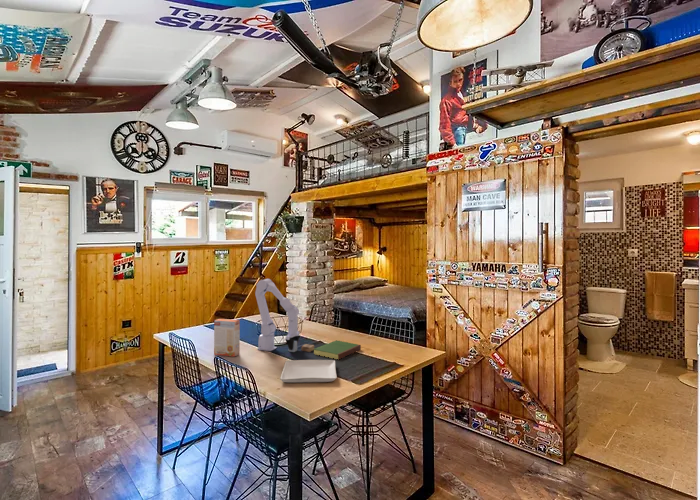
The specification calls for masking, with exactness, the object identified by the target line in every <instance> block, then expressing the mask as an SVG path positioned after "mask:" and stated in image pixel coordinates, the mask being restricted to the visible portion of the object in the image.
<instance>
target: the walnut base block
mask: <svg viewBox="0 0 700 500" xmlns="http://www.w3.org/2000/svg"><path fill="white" fill-rule="evenodd" d="M300 349H301V351H302V352H308V353H310V352H312V351H314V349H315V345H314V344H307V343H305V344H303V345H301V348H300Z"/></svg>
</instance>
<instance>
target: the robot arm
mask: <svg viewBox="0 0 700 500" xmlns="http://www.w3.org/2000/svg"><path fill="white" fill-rule="evenodd" d="M255 286H256V288H255V292H254V294H255V298H256V302H257V307H258V311H259V315H260V317H261V324H260V326H261V327H260V328H261V329H260V333H261V334H260V335H259V336H258V345H257V346H258V348H257V350H260V351H267V352H273V351H274V350H275V349H277V348H278V347H277V346H275V331H276V330H277V326H276V324H275V323H274V320H273V319H272V318H271V315H270V311H269V308H268V304H267V299H266V296H265V294H266V293H267V292H271V293H272V294H273V296H275V297H276V298H277V300H279V305H280V306H281V307H282V308H283V309H284V311H285V312H286V315H287V316H288V321H287V322H288V325H287V326H288V327H287V328H288V329H287V331H288V332H287V335H286V336H285V339H284V340H285V341H286V343H287V347H288V348H289V350H292V349H293V343H294V341H297V344H298V343H299V340H300V338H301V335H300V331H299V330H298V328H299V327H298V324H299V321H298V320H299V317H298V315H299V314H300V313H299V312H300V311H299V308H298V307H297V306H295V305H294V304H293V303H292V302H291V300H290V298H288V297H284V295H283V294H282V293H281V291H280V290H279V289H278V288H277V286H276V284H275V282H273V281H272V279H270V278H264V279H260V280H259V281H258V282H257V283H256V284H255ZM288 348H287V349H288Z"/></svg>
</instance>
